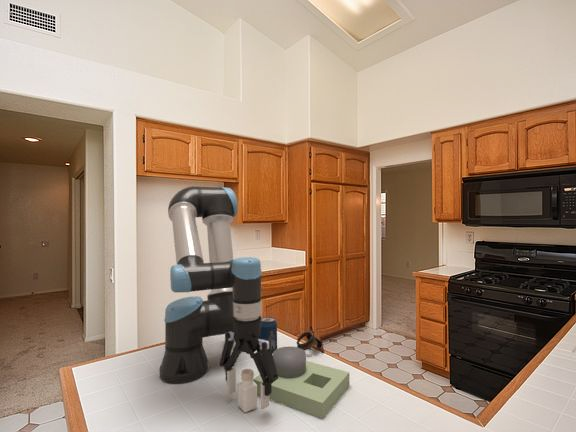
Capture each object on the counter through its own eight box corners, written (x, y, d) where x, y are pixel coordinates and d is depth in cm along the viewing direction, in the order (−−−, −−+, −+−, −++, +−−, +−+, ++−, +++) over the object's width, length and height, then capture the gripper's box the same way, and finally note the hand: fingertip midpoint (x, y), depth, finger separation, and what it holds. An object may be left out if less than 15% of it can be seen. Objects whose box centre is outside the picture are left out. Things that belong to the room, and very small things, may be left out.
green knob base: (253, 393, 90) (252, 361, 90) (287, 367, 105) (286, 340, 105) (322, 419, 78) (322, 382, 78) (349, 385, 93) (349, 355, 93)
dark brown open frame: (326, 358, 113) (316, 340, 111) (303, 367, 115) (292, 350, 113) (324, 337, 125) (315, 320, 123) (303, 346, 126) (294, 330, 125)
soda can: (264, 346, 123) (264, 315, 123) (280, 349, 120) (280, 317, 120) (255, 353, 116) (254, 320, 116) (271, 356, 113) (271, 323, 113)
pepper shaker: (237, 406, 84) (237, 370, 84) (250, 401, 86) (250, 366, 86) (244, 414, 80) (244, 376, 80) (258, 408, 83) (257, 372, 83)
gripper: (205, 313, 86) (206, 393, 86) (275, 329, 74) (275, 422, 74) (224, 306, 93) (225, 381, 93) (291, 320, 80) (292, 406, 80)
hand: (247, 399), depth 83 cm, fingers open, 11 cm apart
